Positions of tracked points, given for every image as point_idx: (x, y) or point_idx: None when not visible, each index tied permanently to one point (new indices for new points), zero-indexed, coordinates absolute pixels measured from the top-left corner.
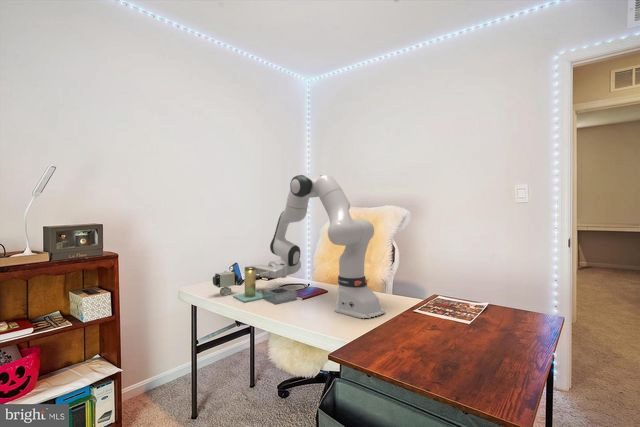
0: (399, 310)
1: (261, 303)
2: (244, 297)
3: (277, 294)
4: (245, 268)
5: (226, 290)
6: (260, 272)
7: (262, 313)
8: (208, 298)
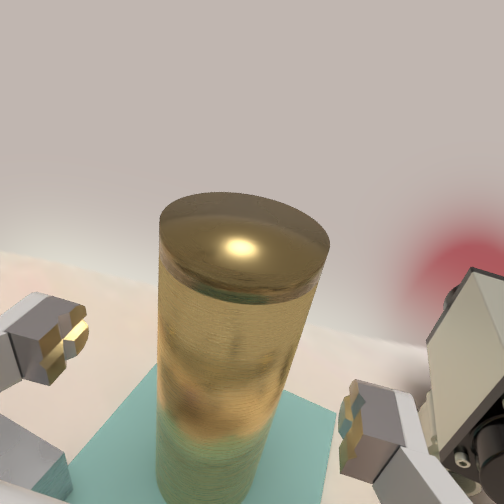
0: None
1: None
2: None
3: None
4: (263, 199)
5: (429, 417)
6: (65, 311)
7: (3, 265)
8: (411, 348)
